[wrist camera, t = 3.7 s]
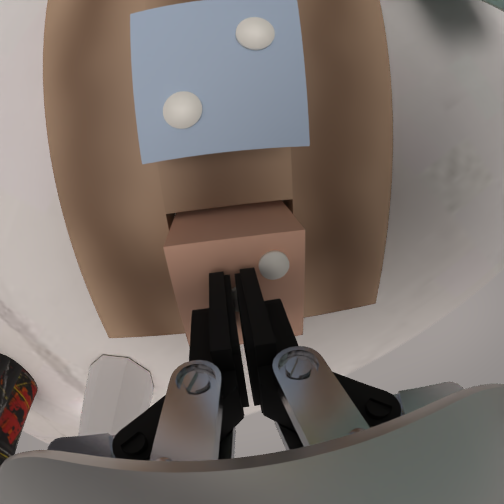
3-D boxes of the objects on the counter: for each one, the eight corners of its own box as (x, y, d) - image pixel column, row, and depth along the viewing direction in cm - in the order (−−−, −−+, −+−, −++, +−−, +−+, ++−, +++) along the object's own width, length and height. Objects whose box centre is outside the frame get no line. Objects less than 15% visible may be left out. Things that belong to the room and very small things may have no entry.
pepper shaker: (131, 347, 18) (102, 495, 8) (167, 391, 20) (161, 517, 10) (78, 359, 18) (40, 480, 8) (115, 399, 20) (98, 509, 10)
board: (342, -68, 7) (354, -81, 5) (361, 285, 18) (375, 303, 16) (73, -44, 6) (60, -56, 4) (117, 317, 16) (109, 338, 15)
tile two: (271, 32, 9) (298, -4, 6) (280, 138, 12) (311, 146, 8) (155, 44, 9) (128, 12, 5) (164, 150, 11) (140, 165, 7)
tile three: (280, 199, 13) (306, 231, 10) (283, 286, 16) (303, 337, 12) (176, 211, 13) (162, 249, 9) (194, 298, 15) (190, 353, 12)
